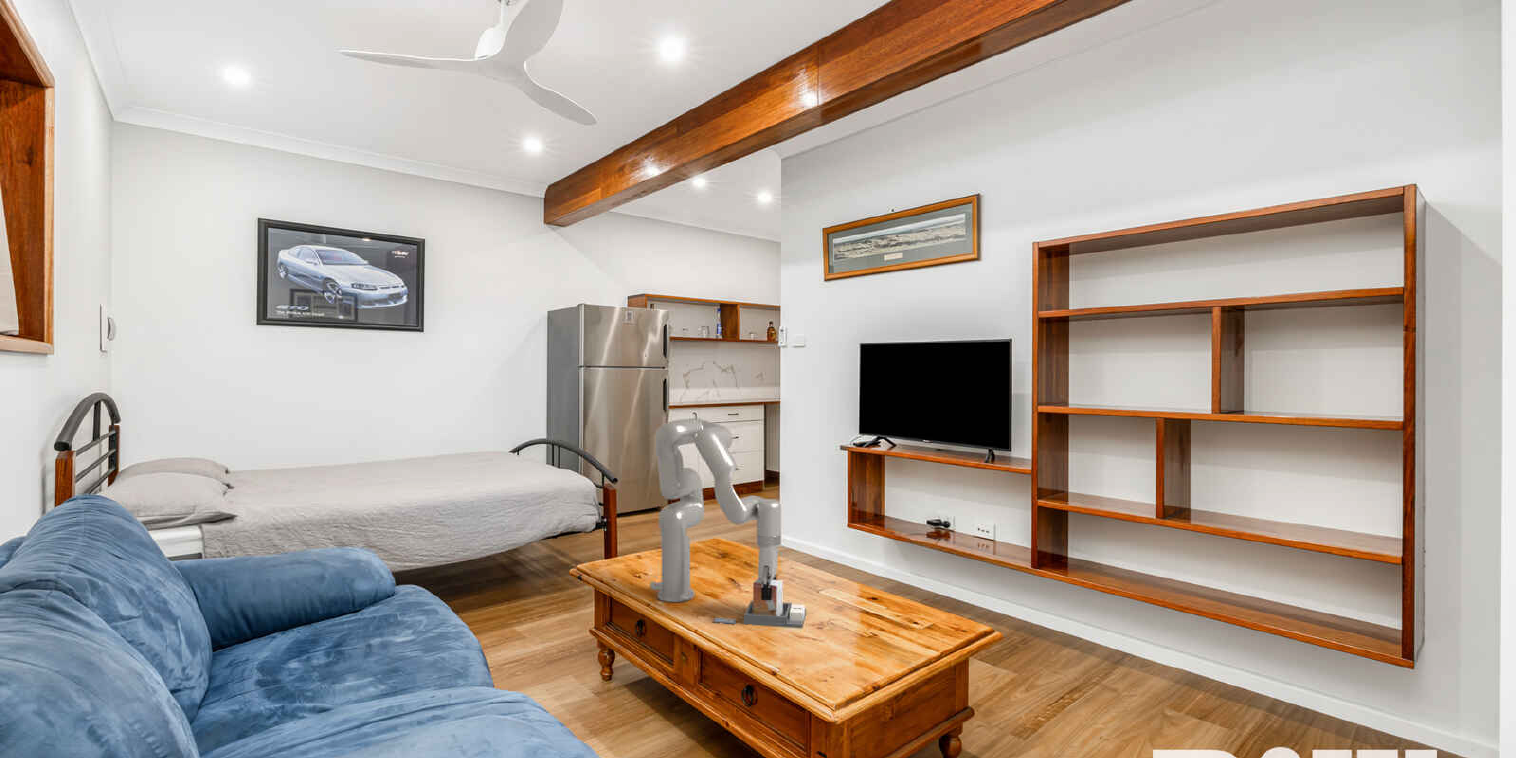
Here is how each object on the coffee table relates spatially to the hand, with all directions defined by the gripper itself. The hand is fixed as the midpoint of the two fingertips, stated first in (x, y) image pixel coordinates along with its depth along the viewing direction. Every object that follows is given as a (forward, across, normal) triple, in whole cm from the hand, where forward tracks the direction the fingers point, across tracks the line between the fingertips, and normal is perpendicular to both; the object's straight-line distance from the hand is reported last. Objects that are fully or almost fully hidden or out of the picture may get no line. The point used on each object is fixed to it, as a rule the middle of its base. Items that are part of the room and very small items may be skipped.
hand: (768, 594), depth 211 cm
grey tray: (+7, 0, +2) cm, 8 cm away
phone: (+8, +6, -13) cm, 16 cm away
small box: (+6, 0, 0) cm, 7 cm away
